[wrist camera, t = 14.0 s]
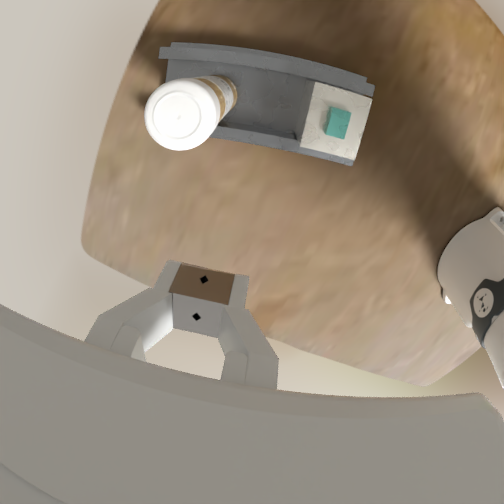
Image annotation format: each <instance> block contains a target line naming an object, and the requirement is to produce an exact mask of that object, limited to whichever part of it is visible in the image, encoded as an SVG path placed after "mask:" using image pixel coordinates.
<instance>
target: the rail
mask: <svg viewBox="0 0 504 504" xmlns="http://www.w3.org/2000/svg"><path fill="white" fill-rule="evenodd" d="M158 59H169V60H168V67H167V74H166V82H165V83H167V82H169V81H172V80H176V79H181V78H195V77H202V76H209V75H221V76H224V77H227V78H228V79H229V80H230V81H232V83H233V84H234V85H235V87H236V90H237V101H236V104H235V105H234V107H233V108H232V109H231V110H230V111H229V112H228V113H227V114H226V115H225V116H224V117H223V118H222V119H221V121H220V122H219V123H218V124H217V126H216V128H215V130H214V131H213V133H212V134H211V135H210V136H209V137H212V138H219V139H225V140H232V141H238V142H244V143H250V144H255V145H261V146H266V147H271V148H276V149H281V150H286V151H291V152H296V153H300V154H305V155H309V156H313V157H317V158H322V159H326V160H330V161H334V162H338V163H341V164H345V165H349V166H352V165H353V162H354V160H355V158H356V155H357V151H358V148H359V145H360V142H361V138H362V135H363V132H364V128H365V125H366V121H367V118H368V114H369V111H370V107H371V103H372V100H373V99H371V98H368V97H365V96H363V94H365V95H368V96H371V97H372V96H373V93H374V89H375V85H372V84H369V83H367V82H366V80H367V77H364V76H361V75H358V74H355V73H352V72H349V71H346V70H342V69H339V68H336V67H332V66H329V65H325V64H322V63H318V62H314V61H310V60H306V59H302V58H297V57H293V56H288V55H283V54H278V53H273V52H267V51H261V50H255V49H248V48H241V47H233V46H224V45H214V44H201V43H180V42H171V46H170V47H160V51H159V58H158Z"/></svg>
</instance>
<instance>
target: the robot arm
mask: <svg viewBox="0 0 504 504" xmlns="http://www.w3.org/2000/svg"><path fill="white" fill-rule="evenodd" d="M234 277H235V278H234ZM438 280H439V282H440V284H441V286H442V288H443V300H444V301H445V303H446V304H452V305H453V307H454V308H455V310H456V311H457V313H458V314H459V316H460V317H461V319H462V320H463V322H464V324H465V325H466V326H467V327H471V328H473V330H474V332H475V335H476V338H477V340H478V341H479V342H480V344H481V346H482V347H483V348H485V349H486V350H487V352H488V354H489V357H490V359H491V361H492V364H493V366H494V368H495V371H496V373H497V376H498V378H499V381H500V383H501V386H502V388H503V389H504V211H503V210H502V209H500V208H499V207H496V208H494V209H493V210H492V211H491V212H489V213H488V214H487V215H486V216H485V217H484V218H482V219H479V220H477V221H474V222H472V223H470V224H468V225H467V226H465V227H464V228H463V229H461V230H460V231H459V232H458V233H457V234H456V235H455V236H454V237H453V238H452V240H451V241H450V242H449V244H448V245H447V247H446V248H445V250H444V252H443V254H442V256H441V258H440V261H439V265H438ZM248 284H249V276H246V275H240V274H233V273H228V272H223V271H218V270H213V269H208V268H204V267H200V266H196V265H191V264H187V263H183V262H178V261H174V260H168V261H167V262H166V264H165V266H164V268H163V270H162V272H161V274H160V276H159V278H158V280H157V282H156V284H155V286H154V288H153V289H152V288H148V289H146V290H144V291H143V292H141V293H139V294H137V295H135V296H133V297H132V298H130V299H128V300H126V301H124V302H122V303H121V304H119V305H117V306H115V307H114V308H112V309H110V310H108V311H106V312H104V313H103V314H101V315H99V316H98V318H97V320H96V322H95V323H94V325H93V327H92V328H91V330H90V332H89V334H88V336H87V337H86V339H85V341H81V340H79V339H76V338H74V337H71V336H68V335H66V334H64V333H61V332H59V331H56V330H54V329H52V328H49V327H47V326H45V325H42V324H40V323H38V322H36V321H34V320H31V319H29V318H27V317H25V316H23V315H21V314H19V313H17V312H15V311H13V310H11V309H9V308H7V307H5V306H3V305H1V304H0V504H504V421H503V418H502V416H501V414H500V413H499V412H498V410H497V409H496V408H495V407H494V405H493V404H492V403H491V402H490V401H489V400H488V398H486V397H485V396H484V395H483V394H481V393H466V394H456V395H444V396H429V397H393V398H392V397H353V396H335V395H322V394H311V393H301V392H292V391H284V390H277V377H278V359H279V358H278V357H277V355H276V354H275V352H274V351H273V349H272V347H271V346H270V344H269V342H268V341H267V339H266V337H265V336H264V334H263V333H262V331H261V329H260V328H259V326H258V325H257V323H256V321H255V320H254V318H253V316H252V315H251V313H250V311H249V310H248V309H244V308H245V302H246V296H247V290H248ZM173 328H175V329H180V330H185V331H190V332H195V333H199V334H203V335H207V336H211V337H216V338H218V340H219V343H220V345H221V348H222V350H223V352H224V355H225V361H224V366H223V371H222V375H221V380H217V379H212V378H207V377H202V376H198V375H194V374H189V373H185V372H181V371H177V370H173V369H169V368H166V367H162V366H158V365H155V364H151V363H147V362H146V359H145V354H144V352H146V351H147V350H148V349H149V348H151V347H152V346H153V345H154V344H156V343H157V342H158V341H159V340H160V339H161V338H163V337H164V336H165V335H167V334H168V333H169V332H170V331H171V330H173Z"/></svg>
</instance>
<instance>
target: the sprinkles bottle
mask: <svg viewBox="0 0 504 504" xmlns="http://www.w3.org/2000/svg"><path fill="white" fill-rule="evenodd" d="M236 101H237V90H236V87H235V85H234V84H233V83H232V81H230V80H229V79H228V78H227V77H224V76H221V75H209V76H202V77H195V78H181V79H176V80H172V81H169V82H167V83H164V84H162V85H161V86H159V87H158V88H157V89H156V90H155V91H154V92H153V93H152V94H151V96H150V97H149V99H148V101H147V103H146V106H145V112H144V119H145V125H146V128H147V130H148V132H149V134H150V135H151V137H152V138H153V139H154V140H155V141H156V142H157V143H159V144H160V145H162V146H163V147H165V148H168V149H172V150H188V149H192V148H194V147H196V146H198V145H200V144H201V143H203V142H204V141H205V140H206V139H207V138H208V137H209V136H210V135H211V134H212V133H213V131H214V130H215V128H216V126H217V124H218V123H219V122H220V121H221V119H222V118H223V117H224V116H225V115H226V114H227V113H228V112H229V111H230V110H231V109H232V108H233V107H234V105H235V104H236Z"/></svg>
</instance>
